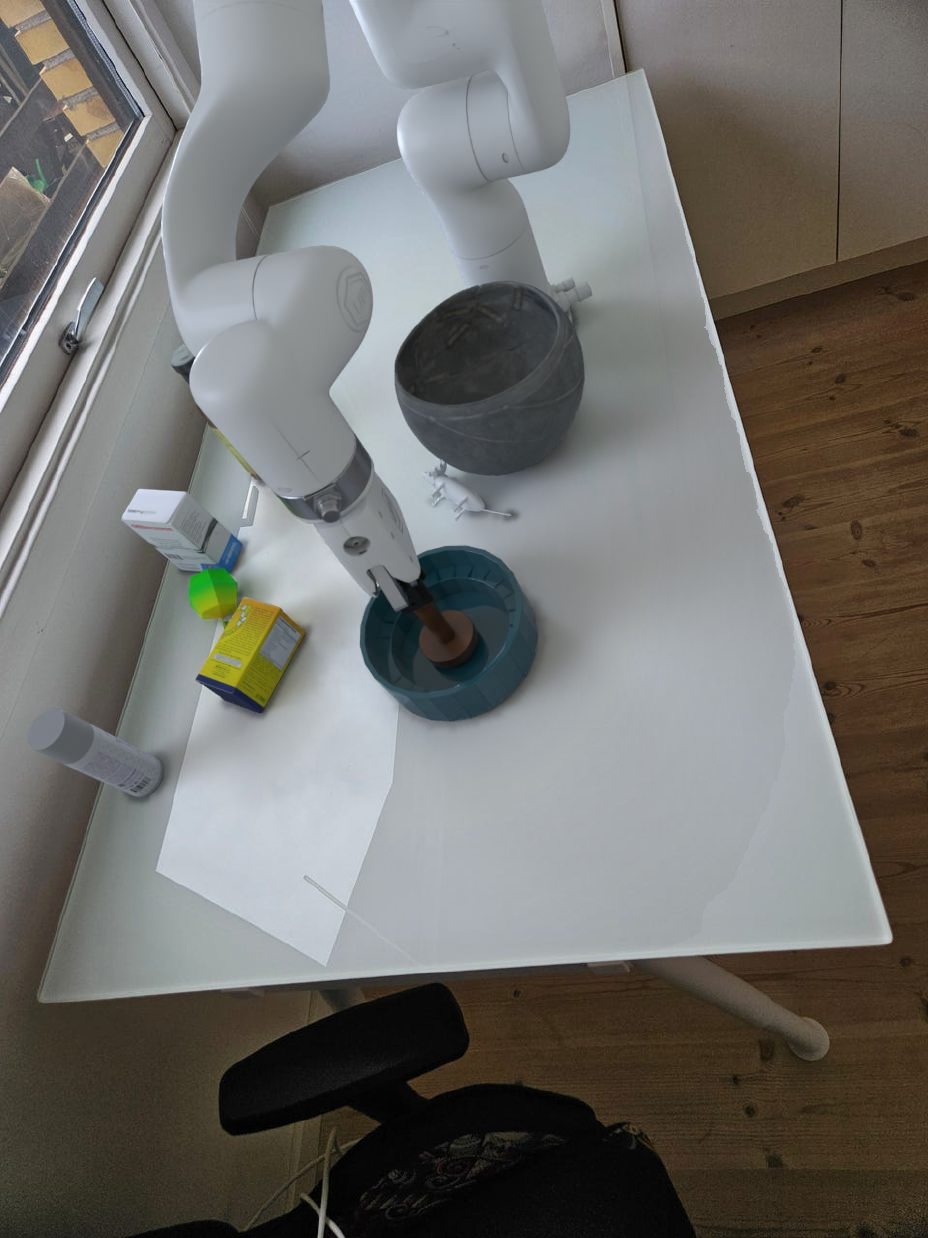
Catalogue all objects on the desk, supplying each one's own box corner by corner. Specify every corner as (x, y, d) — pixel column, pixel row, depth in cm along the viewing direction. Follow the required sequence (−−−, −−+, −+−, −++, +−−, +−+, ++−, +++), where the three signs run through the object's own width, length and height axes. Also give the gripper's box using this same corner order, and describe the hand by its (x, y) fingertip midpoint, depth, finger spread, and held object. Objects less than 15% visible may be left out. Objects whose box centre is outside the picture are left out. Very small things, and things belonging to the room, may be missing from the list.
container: (167, 755, 92) (71, 703, 80) (159, 795, 90) (58, 748, 78) (133, 759, 94) (33, 709, 82) (124, 799, 91) (20, 754, 79)
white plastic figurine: (407, 473, 92) (434, 447, 94) (413, 501, 97) (439, 475, 99) (490, 525, 88) (516, 496, 90) (492, 551, 93) (517, 523, 95)
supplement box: (223, 701, 93) (270, 620, 97) (261, 715, 90) (308, 631, 94) (192, 679, 88) (242, 595, 92) (231, 693, 86) (282, 606, 89)
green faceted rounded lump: (191, 587, 102) (211, 652, 100) (169, 571, 96) (190, 639, 93) (243, 566, 102) (265, 630, 100) (225, 549, 96) (248, 616, 94)
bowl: (544, 349, 104) (515, 246, 91) (635, 442, 91) (615, 338, 79) (404, 434, 104) (356, 342, 91) (476, 539, 91) (432, 450, 79)
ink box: (245, 544, 105) (189, 488, 95) (229, 576, 103) (170, 523, 93) (195, 539, 109) (136, 485, 99) (179, 571, 107) (117, 519, 97)
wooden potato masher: (468, 608, 86) (411, 524, 73) (485, 653, 83) (428, 573, 70) (418, 631, 87) (352, 552, 74) (432, 677, 83) (366, 603, 71)
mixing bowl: (508, 553, 90) (490, 519, 84) (563, 680, 80) (546, 650, 75) (370, 618, 92) (344, 589, 87) (408, 750, 82) (381, 726, 77)
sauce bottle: (285, 481, 108) (194, 374, 92) (246, 485, 110) (151, 380, 94) (298, 443, 111) (213, 332, 95) (260, 447, 113) (170, 339, 97)
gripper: (389, 525, 57) (475, 644, 72) (344, 385, 66) (429, 517, 81) (295, 571, 58) (399, 679, 73) (264, 427, 67) (362, 549, 82)
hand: (414, 593), depth 76 cm, fingers closed on wooden potato masher
